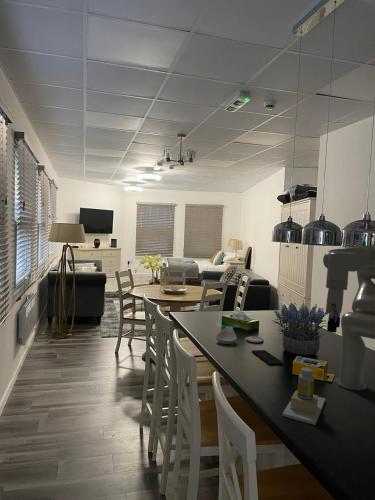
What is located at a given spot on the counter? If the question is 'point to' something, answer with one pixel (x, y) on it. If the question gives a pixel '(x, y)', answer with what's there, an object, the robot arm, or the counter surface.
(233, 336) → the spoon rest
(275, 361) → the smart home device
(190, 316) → the counter surface
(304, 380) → the supplement bottle
